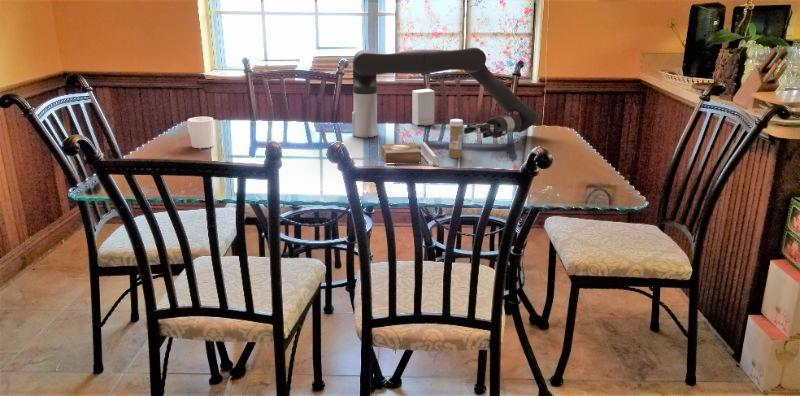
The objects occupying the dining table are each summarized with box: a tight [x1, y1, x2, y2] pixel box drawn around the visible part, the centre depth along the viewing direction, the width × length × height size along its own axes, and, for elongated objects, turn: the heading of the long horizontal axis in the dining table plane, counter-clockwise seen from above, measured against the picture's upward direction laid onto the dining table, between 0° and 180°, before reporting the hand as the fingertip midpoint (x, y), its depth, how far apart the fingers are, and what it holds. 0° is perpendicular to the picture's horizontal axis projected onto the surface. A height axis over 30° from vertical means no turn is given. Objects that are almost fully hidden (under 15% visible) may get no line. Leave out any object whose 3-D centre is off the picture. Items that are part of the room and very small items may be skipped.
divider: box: [419, 141, 440, 167], centre depth 223 cm, size 20×3×4 cm, turn 10°
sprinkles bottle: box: [448, 118, 464, 159], centre depth 223 cm, size 5×5×14 cm
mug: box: [186, 116, 215, 149], centre depth 235 cm, size 11×9×10 cm
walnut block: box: [380, 142, 422, 165], centre depth 221 cm, size 12×12×4 cm
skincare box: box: [411, 88, 436, 126], centre depth 272 cm, size 8×6×15 cm
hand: (474, 133), depth 230 cm, fingers open, 8 cm apart
